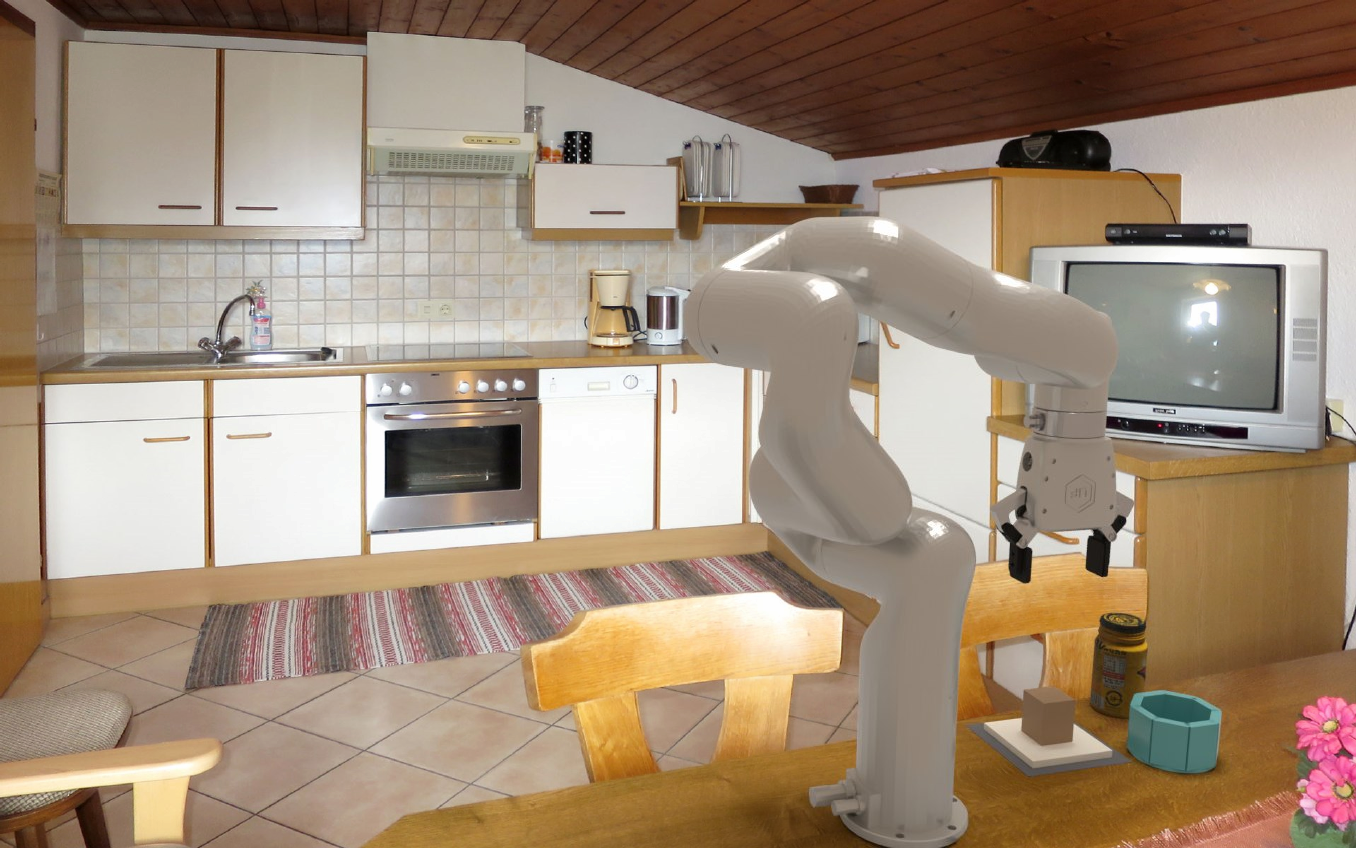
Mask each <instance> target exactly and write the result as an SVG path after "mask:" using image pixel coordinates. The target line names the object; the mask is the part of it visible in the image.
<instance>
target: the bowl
mask: <svg viewBox="0 0 1356 848" xmlns="http://www.w3.org/2000/svg"><path fill="white" fill-rule="evenodd" d="M1222 713H1223V711H1222V709H1220V708H1218V707H1216V706H1215V705H1213V704H1211V703H1209V702H1208V701H1206V700H1204V699H1202V698H1200V697H1198V696H1197V695H1196V696H1195V695H1189V694H1185V693H1181V692H1175V691H1169V690H1162V689H1159V690H1152V691H1146V692H1145V691H1144V692H1143V693H1136V694H1134V696H1133V699H1132V701H1131V704H1130V712H1129V718H1128V726H1127V736H1126V737H1127V738H1126V739H1127V740H1126V749H1128V751H1129V753H1130V754H1131V755H1132V757H1134V758H1135V759H1137V760H1138V761H1139V762H1142V763H1143V764H1145V765H1147V766H1149V767H1150V766H1151V767H1153V768H1156V769H1159V770H1162V771H1168V772H1171V773H1179V774H1201V773H1202V774H1203V773H1206V772H1209V771H1211V770H1213V769H1215V767H1216V765H1217V760H1218V754H1219V747H1220V746H1219V745H1220V735H1221V726H1222V725H1221V724H1222Z"/></svg>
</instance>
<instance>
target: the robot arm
mask: <svg viewBox="0 0 1356 848" xmlns="http://www.w3.org/2000/svg"><path fill="white" fill-rule="evenodd" d="M688 293H689V294H688V296H687V297H686V300H685V304H684V306H683V313H682V324H683V330H684V333H685V334H684V335H685V337H686V338H687V341H688V343H689V345H690V346H691V347H692V348H693V351H695V352H696V353H697V354H699V356H701V357H702V358H703V359H706V360H708V361H710V362H712V363H713V364H717V365H722V366H726V367H727V366H728V367H732V368H733V367H734V368H740V369H749V370H753V371H762V372H768V373H770V374H769V379H768V383H767V387H766V392H765V395H764V396H765V397H764V402H763V405H762V411H761V414H760V418H759V423H758V442H759V447H758V449H757V451H756V452H755V454H754V456H753V458H752V460H751V464H750V467H749V472H748V490H749V494H750V495H749V496H750V499H751V501H752V505H753V508H754V509H755V512H756V513H757V515H758V516H759V518H760V519H761V520H762V521H763V522H764V524H765V525H766V526H767V527H768V528H769V529H770V531H772V533H773V534H775V536H776V537H777V538H778V539H779V540H780V541H781V543H783V544H784V545H785V546H786V547H787V548H788V550H790V551H791V552H792V554H794V555H795V557H796V558H797V559H799V561H801V563H803V564H804V565H805V566H806V567H807V568H808V569H809V570H810V571H811V572H812V573H813V574H815V575H816V576H817V577H819V578H821V579H822V580H823V581H826V582H828V583H831V584H834V585H835V586H838V587H841V588H844V589H848V590H850V591H854V592H856V593H860V594H863V595H866V596H867V597H870V598H871V599H872V598H873V599H875V600H878V601H879V602H880V609H879V612H878V613H877V615H876V616H875V617H874V619H873V620H872V622H871V623H870V624H869V626H868V627H867V629H866V630H865V631H864V634H863V637H862V639H861V642H860V648H859V663H858V664H859V665H858V666H859V671H858V699H857V700H858V701H857V703H858V704H857V728H856V729H857V731H856V762H855V764H856V765H855V767H850V768H847V769H846V771H845V777H846V778H845V779H841V780H838V782H837V783H836V784H830V785H828V784H824V785H817V786H816V785H815V786H810V787H809V789H808V800H809V802H810V804H811V806H812V808H820V807H825V806H826V807H827V806H830V808H831V813H832V814H833V816H835V817H837V816H840V819H841V821H842V823H843V824H844V825H845V826H846V827H847V829H848V830H849V831H851V832H853V834H855V835H857V836H858V837H860V838H862V839H863V840H866V841H867V842H871V843H873V844H875V845H879V846H881V847H882V846H883V847H886V848H944V847H946V846H949V845H951V844H954V843H956V842H957V841H958V840H960V839H959V838H961V837H962V836H963V835H964V834H965V833H966V831H967V829H968V826H969V813H968V809H967V807H966V805H965V804H964V803H963V802H962V800H961V799H959V797H957V796H956V795H955V794H954V781H955V780H954V779H955V762H956V760H955V758H956V742H957V741H956V740H957V739H956V738H957V721H958V720H957V718H958V699H959V697H958V696H959V679H960V677H959V676H960V660H961V659H960V658H961V657H960V655H961V645H962V634H963V633H962V632H963V625H964V619H965V614H966V609H967V604H968V601H969V596H970V592H971V588H972V585H973V580H974V577H975V571H976V565H977V553H976V548H975V544H974V542H973V539H972V537H971V536H970V534H969V533H968V531H966V529H965V528H964V527H963V526H962V525H960V523H958V522H957V521H955V520H953V519H952V518H949V517H947V516H945V515H943V514H941V513H938V512H936V511H932V510H928V509H926V508H925V509H924V508H921V507H916V506H913V498H912V491H911V489H910V486H909V483H908V481H907V479H906V477H905V476H904V473H903V472H902V471H901V469H900V467H899V466H898V464H896V462H895V461H894V460H893V459H892V457H891V456H890V455H889V453H887V451H886V450H885V449H884V447H883V446H882V445H881V443H880V442H879V441H878V440H877V439H876V438H875V436H874V435H873V434H872V432H871V431H870V430H869V428H867V426H866V425H865V424H864V423H863V421H862V420H861V418H860V417H859V415H858V414H857V412H856V411H855V408H854V407H853V406H852V403H851V398H850V394H851V393H850V392H851V383H852V382H851V381H852V379H851V378H852V373H853V368H854V363H855V359H856V353H857V350H858V344H859V340H860V339H859V336H860V321H859V320H860V319H859V314H862V315H864V316H868V317H869V318H871V319H874V320H876V321H879V322H881V323H882V324H885V325H887V326H889V327H892V328H894V329H896V330H899V331H900V332H902V333H904V334H907V335H909V336H910V337H913V338H915V339H917V340H919V341H921V342H923V343H925V344H927V345H930V346H933V347H935V348H938V349H942V350H946V351H951V352H954V353H958V354H963V355H969V356H973V357H974V360H975V362H976V364H977V366H978V367H979V368H980V369H981V370H982V371H983V372H984V373H986V374H987V375H989V376H990V377H993V378H995V379H997V380H1001V381H1007V382H1013V383H1020V384H1021V383H1022V384H1029V385H1034V391H1033V392H1034V395H1033V396H1034V397H1033V407H1032V410H1031V411H1032V412H1031V414H1030V415H1029V414H1028V415H1027V414H1026V415H1025V416H1024V417H1023V425H1024V427H1025V428H1026V429H1027V428H1028V429H1029V428H1030V431H1031V434H1029V435H1026V437H1025V438H1026V439H1025V441H1024V445H1023V448H1022V452H1021V457H1020V461H1019V467H1018V472H1017V478H1016V479H1017V480H1016V486H1015V487H1016V489H1015V491H1014V492H1011V494H1008V495H1007V496H1005V497H1003V499H1001V500H999V501H997V502H996V503H993V504H992V505H991V506H990V507H989V512H990V514H991V516H992V519H993V521H994V523H995V524H996V525H995V528H996V530H997V531H998V532H999V533H1000V534H1001V535H1002V536H1003V538H1004V539H1005V541H1006V542H1008V543H1009V550H1008V566H1007V567H1008V572H1009V576H1010V577H1011V578H1012V579H1015V580H1016V581H1018V582H1020V583H1022V584H1029V583H1031V581H1032V566H1033V565H1032V563H1033V549H1032V547H1030V546H1029V544H1030V543H1031V542H1032V541H1033V539H1035V537H1036V535H1037V534H1038V533H1039V532H1043V533H1059V532H1060V533H1061V532H1062V533H1063V532H1076V531H1077V532H1078V531H1089V530H1090V532H1091V533H1092V534H1091V535H1088V537H1087V541H1086V551H1085V552H1086V553H1085V555H1086V556H1085V570H1087V571H1088V572H1089V573H1092V574H1095V575H1096V576H1098V577H1100V578H1108V576H1109V566H1110V561H1111V549H1112V548H1111V546H1112V543H1114V542H1115V541H1116V540H1117V538H1118V533H1119V532H1120V531H1121V530H1122V529H1123V528H1124V526H1126V524H1127V518H1129V515H1130V513H1131V512H1132V509H1133V508H1134V506H1135V501H1134V500H1133V498H1130V497H1129V496H1126V495H1125V494H1123V493H1121V492H1119V491H1117V469H1116V468H1117V467H1116V460H1115V459H1116V458H1115V450H1114V445H1113V440H1112V438H1111V437H1109V436H1106V427H1107V413H1108V402H1109V401H1108V399H1109V387H1110V386H1109V385H1110V376H1111V375H1112V373H1113V372H1114V371H1115V369H1116V367H1117V362H1118V361H1119V353H1120V352H1119V351H1120V349H1119V340H1118V337H1117V334H1116V331H1115V328H1114V325H1113V321H1112V318H1111V317H1110V316H1109V315H1108V314H1107V313H1105V312H1103V311H1099V310H1096V309H1095V308H1093V307H1091V306H1090V305H1088V304H1087V303H1085V302H1083V301H1081V300H1079V299H1077V298H1075V297H1073V296H1071V295H1068V294H1066V293H1063V292H1060V291H1059V290H1056V289H1052V288H1050V287H1046V286H1043V285H1040V284H1037V283H1033V282H1030V281H1027V280H1024V279H1020V278H1018V277H1014V276H1012V275H1009V274H1006V273H1003V272H1000V271H997V270H993V269H991V268H987V267H983V266H980V265H977V264H975V263H973V262H970V261H969V260H967V259H965V258H963V257H962V256H960V255H959V254H956V253H954V252H953V251H951V250H950V249H948V248H946V247H944V246H943V245H941V244H939V243H937V242H935V241H933V240H932V239H931V238H928V237H927V236H925V235H924V234H922V233H919V232H918V231H916V230H915V229H913V228H911V227H909V226H908V225H905V224H903V223H901V222H899V221H897V220H895V219H891V218H889V217H882V216H873V215H872V216H871V215H870V216H868V215H867V216H864V215H863V216H824V217H823V216H819V217H809V218H807V219H803V220H800V221H797V222H794V223H793V224H790V225H789V226H786V227H784V228H782V229H780V230H779V231H777V232H775V233H773V234H772V235H769V236H767V237H766V238H764V239H762V240H761V241H759V242H757V243H756V244H755V243H754V244H753V245H752V246H751V247H748V248H746V249H745V250H742V252H740V253H738V254H736V255H734V256H732V257H730V258H729V259H727V260H725V261H723V262H721V263H719V264H718V265H717V266H715V267H714V268H712V269H710V270H708V271H707V272H705V274H703V276H701V278H699V279H698V280H697V282H695V284H694V285H693V287H692V288H691V290H690V292H688ZM1012 512H1014V516H1015V518H1016V520H1015V522H1014V523H1013V524H1012V522H1011V518H1010V513H1012Z"/></svg>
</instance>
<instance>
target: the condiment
mask: <svg viewBox="0 0 1356 848" xmlns="http://www.w3.org/2000/svg"><path fill="white" fill-rule="evenodd" d="M1098 621H1099V626H1098V629H1097V632H1098V634H1097V635H1096V637H1095V638H1094V646H1093V658H1092V668H1091V669H1092V671H1091V686H1090V698H1089V701H1090V705H1091V708H1092V709H1093V710H1095V711H1096V712H1098V713H1100V714H1102V715H1104V716H1109V717H1112V718H1117V719H1118V718H1120V719H1129V712H1130V704H1131V701H1132V699H1133V696H1134V694H1136V693H1143V692H1145V689H1146V677H1147V662H1148V652H1149V647H1148V643H1147V641H1146V637H1147V635H1146V634H1147V633H1146V631H1147V630H1146V629H1147V623H1146V621H1145V620H1144V619H1143V618H1141V617H1139V616H1137V615H1134V614H1130V613H1125V612H1107V613H1103V614H1101V616H1100V618H1099V620H1098Z"/></svg>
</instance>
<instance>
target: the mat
mask: <svg viewBox="0 0 1356 848" xmlns="http://www.w3.org/2000/svg"><path fill="white" fill-rule="evenodd" d="M984 723H985V722H982V723H981V722H979V723H973V724H965V726H966V728H968V729H969V730H971V731H972V733H974V734H975V735H976V736H977V737H979V738H980V739H981V740H982V741H984V742H985V743H987V745H988V746H990V747H991V748H992V749H994V750H995V751H996V752H997V753H998V754H1000V755H1001V756H1002V757H1004V758H1005V760H1007V761H1008V762H1010V763H1011V764H1012V765H1013V766H1014V767H1016V768H1017V769H1018V770H1019V771H1021V773H1023V774H1024V775H1025V776H1027V777H1028V778H1031V777H1038V776H1039V777H1040V776H1045V775H1051V774H1058V773H1065V772H1072V771H1080V770H1086V769H1087V770H1088V769H1094V768H1101V767H1107V766H1114V765H1124V764H1129V763H1133V761H1132V760H1131V759H1130V758H1128V757H1126V756H1125V755H1124V754H1122V753H1121V752H1119V751H1118V750H1117V749H1115V748H1113V747H1112V746H1110V745H1109V744H1107V743H1106V742H1104V741H1103V740H1102V739H1100V738H1099V737H1097V736H1096V735H1095V734H1094V733H1092V732H1090V731H1088V730H1087V729H1086V728H1084V727H1083V726H1082V725H1080V724H1079V723H1077V722H1076V721H1074V724H1075V725H1076V726H1078V727H1079V728H1081V729H1082V730H1084V731H1085V732H1087V733H1088V734H1089V735H1091V736H1092V737H1094V738H1095V739H1097V740H1098V741H1100V742H1101V743H1102V744H1104V745H1105V746H1107V747H1108V748H1110V749H1111V750H1113V751H1112V757H1110V758H1103V759H1096V760H1089V761H1082V762H1075V763H1067V764H1060V765H1053V766H1046V767H1039V768H1032V767H1030V766H1029V765H1028V764H1027V763H1025V762H1024V761H1023V760H1022V759H1020V758H1019V757H1018V756H1017V755H1015V754H1014V753H1013V752H1012V751H1010V750H1009V749H1008V748H1007V747H1005V746H1004V745H1003V744H1002V743H1000V742H999V741H998V740H997V739H995V738H994V737H993V736H992V735H990V734H989V733H988V732H987V731H985V730H984Z"/></svg>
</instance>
